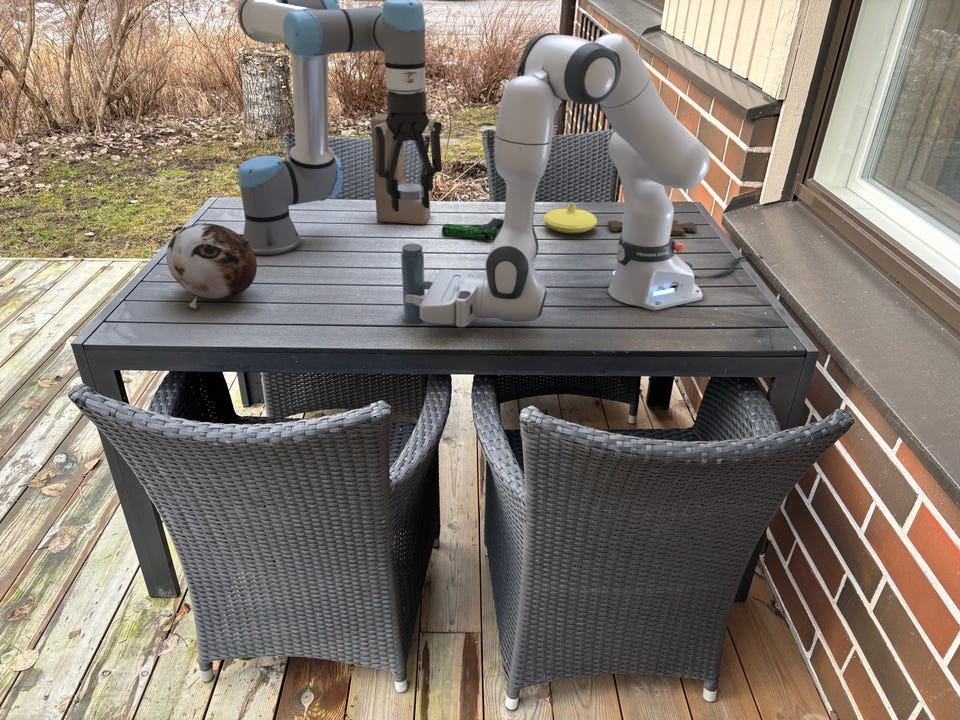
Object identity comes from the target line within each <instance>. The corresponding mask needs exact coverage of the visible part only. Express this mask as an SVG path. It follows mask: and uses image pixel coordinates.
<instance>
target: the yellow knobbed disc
mask: <svg viewBox="0 0 960 720" xmlns="http://www.w3.org/2000/svg"><path fill="white" fill-rule="evenodd" d="M543 222H544V225H545V226H546V227H548V228H550V229H551V230H554V231H556V232H559V233H564V234H580V233H584V232H585V233H586V232H587V231H591V230H592V229H594V228H596V226H597V223H598V219H597V217H596V215H595V214H593V213H591V212H589V211H587V210H584V209H578V208H576V205H575V204H571V203H570V204H567V208H557V209H552V210H549V211H548V212H547V213H545V214H544V216H543Z"/></svg>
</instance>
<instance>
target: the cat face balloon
mask: <svg viewBox="0 0 960 720" xmlns="http://www.w3.org/2000/svg"><path fill="white" fill-rule="evenodd" d="M185 227H186V228H184V229H182V230H178V231H177V232H176V233H175V234H174V235H173V237H171V239H170V241H169V243H168V245H167V248H166V254H165V260H166V265H167V268H168V271H169V273H170V275H171V276H172V277H173V279H174V280H175V281H176V282H177V284H178V285H180V286H181V287H182V288H183V289H185V290H186V291H187V292H189V293H191V294H194V295H195V298H194V299H193V300H192V302H190V303H189V304H188V306H189V307H191V308H192V309H197V308H198V307H197V298H198V297H201V298H205V299H210V300H226V299H230V298H233V297H236V296H238V295H241V294H242V293H244V292H245V291H247V290H248V289H249V288H250V286H251V285H252V284H253V282H254V280H255V278H256V275H257V271H258V262H257V257H256V254H254V252H253V250H252V248H251V247H250V245H249V244H248V242H249V241H246V240H245V239H244V238H243V237H241V236H240V235H241V234H239V233H238V232H236V231H234V230H233V229H231V228H229V227H226V226H223V225H220V224H215V223H205V222H204V223H195V224H191V225H188V226H185Z"/></svg>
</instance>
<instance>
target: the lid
mask: <svg viewBox="0 0 960 720" xmlns="http://www.w3.org/2000/svg"><path fill="white" fill-rule="evenodd" d="M423 197H424V186H422V185H421V183H420V184H419V183H412V182H411V183H410V182H407V183H406V184H401V185H398V199H401V200H407V201H412V200H419V199H422V198H423Z"/></svg>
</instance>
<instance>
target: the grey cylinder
mask: <svg viewBox="0 0 960 720" xmlns="http://www.w3.org/2000/svg"><path fill="white" fill-rule="evenodd" d="M423 247H424V246H422V245H421V244H419V243H406V244H404V245H402V246H401V253H400V262H401V287H402V306H403V319H404V321H406V322H408V323H420V322H424V321H423V320H422V319H421V318H420V307H419V306H417V305H415V304H413V303H407V302H406V301H405V296H406V295H407V293H415V295H417V296H420V297H421V295H422V296H426V290H425V282H424V281H425V253H424V252H423Z"/></svg>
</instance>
